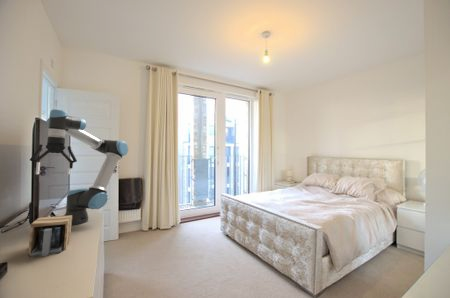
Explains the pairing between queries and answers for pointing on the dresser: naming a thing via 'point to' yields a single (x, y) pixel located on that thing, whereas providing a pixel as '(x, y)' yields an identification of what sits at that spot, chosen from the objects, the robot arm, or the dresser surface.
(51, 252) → the tray
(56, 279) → the dresser surface
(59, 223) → the cubby
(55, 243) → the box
